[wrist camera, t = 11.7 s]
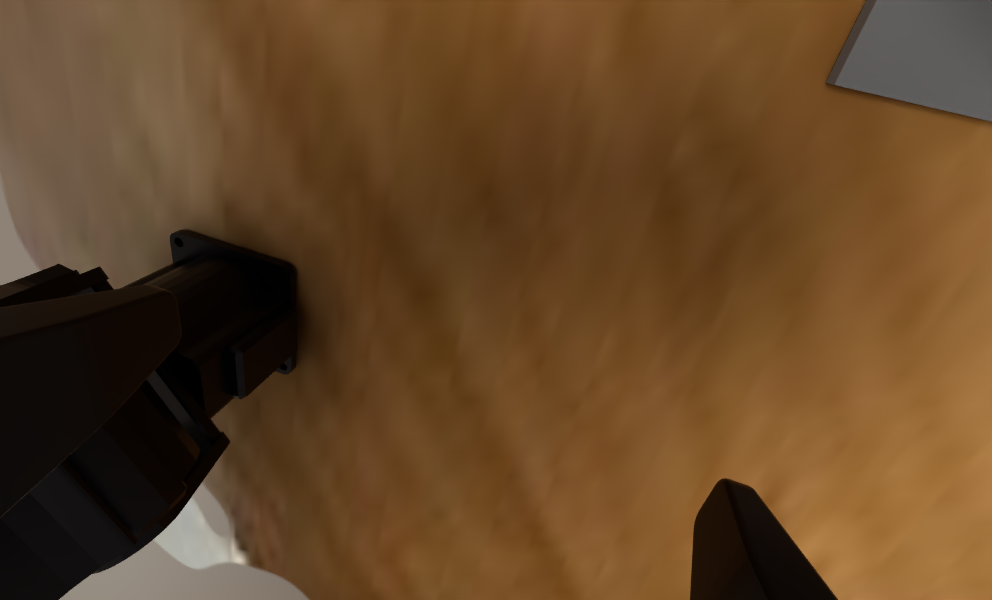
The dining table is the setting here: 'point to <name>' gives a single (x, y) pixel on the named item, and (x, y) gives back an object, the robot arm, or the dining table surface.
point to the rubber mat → (922, 54)
